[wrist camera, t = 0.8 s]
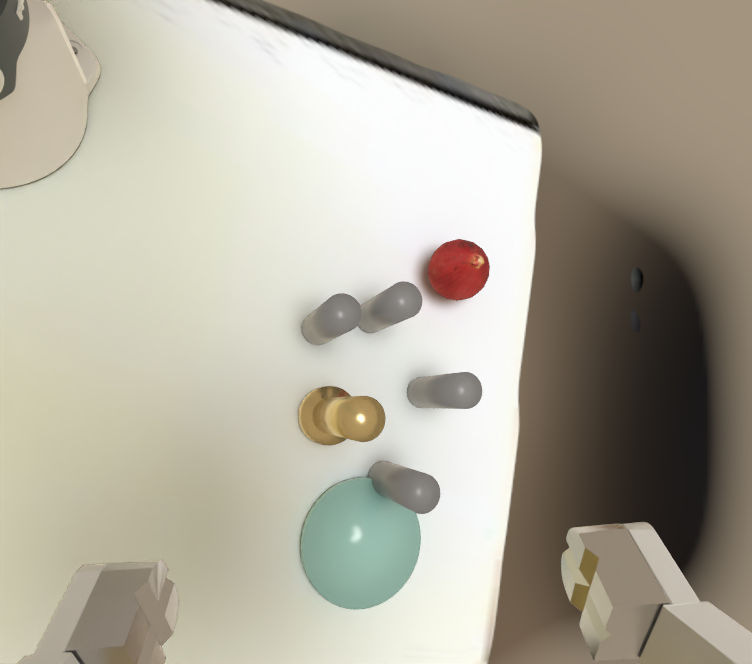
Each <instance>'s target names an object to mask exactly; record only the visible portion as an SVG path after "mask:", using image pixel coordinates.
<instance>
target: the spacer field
mask: <svg viewBox="0 0 752 664" xmlns="http://www.w3.org/2000/svg"><path fill="white" fill-rule="evenodd" d="M421 306H422V296H421V293H420V291H419V290H418V288H417V287H416V286H414V285H413V284H411V283H409V282H399V283H396V284H395V285H393V286H391V287H390V288H388V289H387V290H385V291H383V292H382V293H380V294H379V295H377V296H375V297H374V298H372V299H371V300H369V301H367V302H366V303H364V304H362V305H361V306H360V305H359V303H358V302H357V301H356V299H355V298H353V297H352V296H350V295H348V294H336V295H333V296H332V297H330V298H329V299H328V300H327V301H326V302H324V303H323V304H322V305H321V306H320V307H318V308H317V309H316V310H315V311H314V312H312V313H311V314H310V315H309V316H308V317H306V318H305V320H304V321H303V324H302V334H303V336H304V338H305V339H306V340H307V341H308V342H310V343H311V344H314V345H321V344H324V343H326V342H328V341H330V340H332V339H334V338H336V337H338V336H340V335H342V334H344V333H346V332H348V331H351V330H352V329H354V328H355V327H356V326H357V325H358V327H359V328H360V329H361V330H363V331H364V332H367V333H374V332H377V331H379V330H382V329H384V328H387V327H389V326H391V325H394V324H396V323H399V322H401V321H404V320H406V319H408V318H411V317H413V316H415V315H416V314H417V313H418V312H419V311H420V309H421ZM407 396H408V399H409V401H410V402H411V403H412V404H413V405H414V406H416V407H419V408H456V409H469V408H472V407H474V406H476V405H477V404H478V402H479V401H480V399H481V396H482V386H481V383H480V381H479V379H478V378H477V377H476V376H475V375H473V374H472V373H469V372H461V373H452V374H444V375H436V376H427V377H419V378H416V379H414V380H412V381H411V382H410V384H409V386H408V389H407ZM368 478H370V479H372V484H373V487H374V489H375V491H376V492H377V493H379V494H380V495H382V496H384V497H386V498H388V499H390V500H392V501H394V502H396V503H398V504H400V505H402V506H404V507H405V508H407V509H409V510H411V511H413V512H415V513H418V514H425V513H428V512H430V511H432V510H433V509H434V508H435V507H436V505H437V504H438V501H439V498H440V488H439V485H438V483H437V481H436V480H435V479H434V478H433V477H432V476H430V475H428V474H425V473H422V472H419V471H416V470H412V469H409V468H406V467H403V466H400V465H397V464H393V463H390V462H387V461H380V462H377V463H375V464H374V465H373V466H372V467H371V469H370V471H369V473H368Z"/></svg>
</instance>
